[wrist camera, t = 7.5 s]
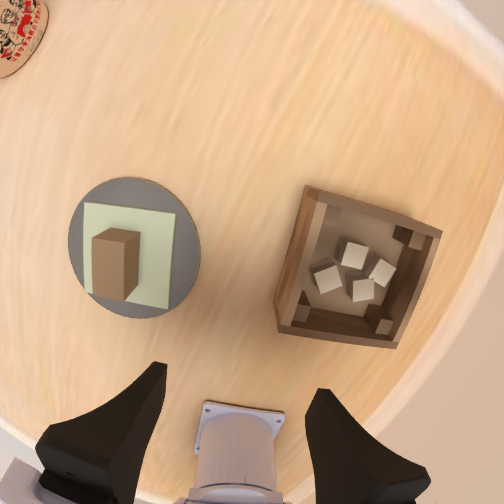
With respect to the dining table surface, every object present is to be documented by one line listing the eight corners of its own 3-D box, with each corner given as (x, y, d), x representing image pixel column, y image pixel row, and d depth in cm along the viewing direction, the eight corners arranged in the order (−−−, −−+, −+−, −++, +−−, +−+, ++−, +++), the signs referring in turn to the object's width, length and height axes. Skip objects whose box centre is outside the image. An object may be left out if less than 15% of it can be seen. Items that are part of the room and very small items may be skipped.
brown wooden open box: (374, 320, 24) (395, 349, 19) (273, 301, 23) (278, 332, 19) (411, 218, 21) (442, 231, 17) (305, 185, 20) (320, 191, 16)
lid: (169, 305, 22) (157, 329, 19) (87, 289, 22) (66, 308, 18) (177, 212, 20) (163, 222, 17) (88, 201, 20) (62, 208, 16)
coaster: (188, 329, 24) (186, 332, 23) (70, 295, 23) (67, 298, 22) (214, 193, 21) (213, 194, 20) (79, 167, 20) (75, 168, 19)
